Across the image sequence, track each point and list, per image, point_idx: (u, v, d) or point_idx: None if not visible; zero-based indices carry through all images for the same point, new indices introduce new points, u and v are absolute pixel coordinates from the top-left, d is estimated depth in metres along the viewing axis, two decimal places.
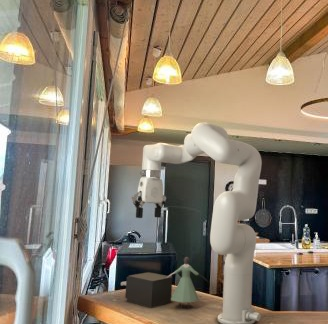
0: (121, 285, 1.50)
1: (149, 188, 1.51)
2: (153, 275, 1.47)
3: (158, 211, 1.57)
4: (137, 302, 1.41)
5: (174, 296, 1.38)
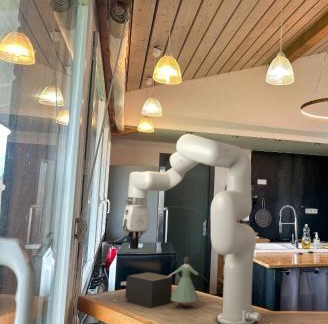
0: (121, 285, 1.50)
1: (134, 216, 1.49)
2: (153, 275, 1.47)
3: None
4: (137, 302, 1.41)
5: (174, 296, 1.38)
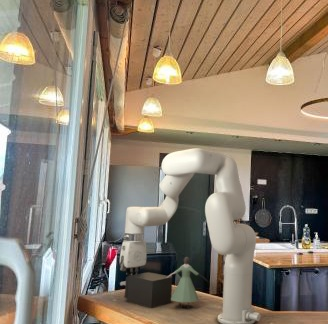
0: (120, 284, 1.50)
1: (131, 252, 1.48)
2: (153, 275, 1.47)
3: None
4: (137, 302, 1.41)
5: (174, 296, 1.38)
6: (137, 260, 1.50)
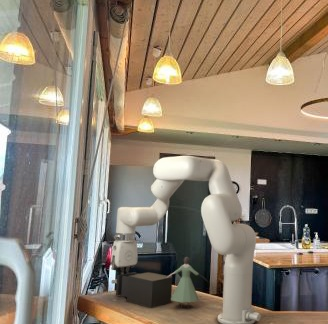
0: (112, 283, 1.53)
1: (122, 252, 1.51)
2: (153, 275, 1.47)
3: None
4: (137, 302, 1.41)
5: (174, 296, 1.38)
6: (128, 259, 1.53)
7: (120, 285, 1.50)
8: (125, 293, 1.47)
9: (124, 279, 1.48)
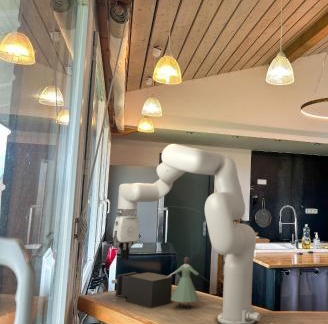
0: (112, 283, 1.53)
1: (124, 227, 1.52)
2: (153, 275, 1.47)
3: None
4: (137, 302, 1.41)
5: (174, 296, 1.38)
6: (130, 235, 1.54)
7: (120, 285, 1.49)
8: (125, 293, 1.47)
9: (124, 279, 1.48)
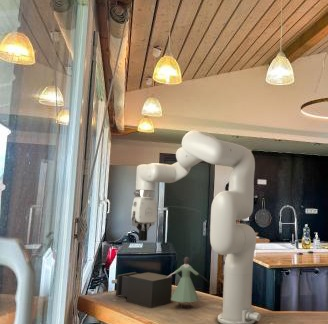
0: (112, 283, 1.53)
1: (143, 208, 1.51)
2: (153, 275, 1.47)
3: None
4: (137, 302, 1.41)
5: (174, 296, 1.38)
6: (148, 216, 1.53)
7: (120, 285, 1.49)
8: (125, 293, 1.47)
9: (124, 279, 1.48)
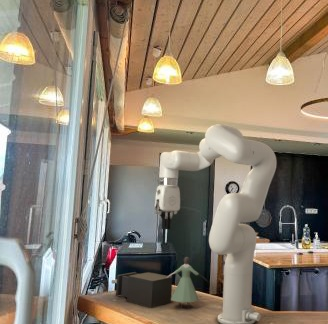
0: (112, 283, 1.53)
1: (167, 196, 1.49)
2: (153, 275, 1.47)
3: None
4: (137, 302, 1.41)
5: (174, 296, 1.38)
6: (172, 204, 1.52)
7: (120, 285, 1.49)
8: (125, 293, 1.47)
9: (124, 279, 1.48)
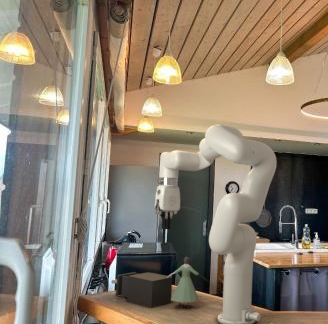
0: (112, 283, 1.53)
1: (167, 196, 1.49)
2: (153, 275, 1.47)
3: None
4: (137, 302, 1.41)
5: (174, 296, 1.38)
6: (172, 204, 1.52)
7: (120, 285, 1.49)
8: (125, 293, 1.47)
9: (124, 279, 1.48)
